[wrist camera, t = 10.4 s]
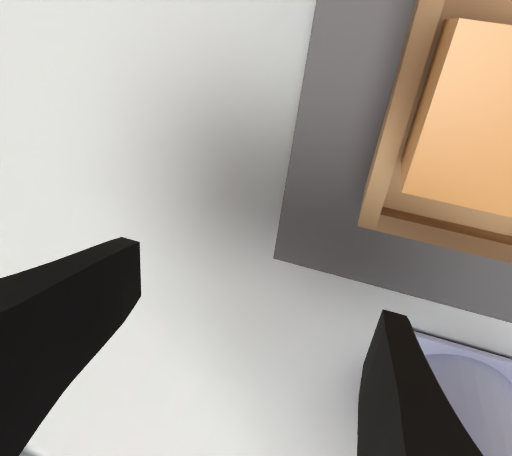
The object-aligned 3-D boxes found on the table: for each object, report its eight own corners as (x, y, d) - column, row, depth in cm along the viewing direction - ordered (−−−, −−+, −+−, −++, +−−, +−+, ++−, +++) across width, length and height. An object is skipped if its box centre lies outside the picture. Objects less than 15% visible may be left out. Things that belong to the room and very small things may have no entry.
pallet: (504, 218, 16) (531, 268, 12) (364, 187, 17) (357, 226, 14) (638, -65, 11) (732, -97, 8) (437, -81, 12) (452, -117, 9)
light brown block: (518, 183, 12) (551, 226, 10) (400, 158, 13) (401, 192, 10) (587, 39, 10) (651, 44, 8) (444, 18, 11) (459, 17, 8)
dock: (524, 291, 20) (544, 331, 17) (287, 231, 22) (273, 258, 20) (815, -232, 11) (941, -308, 8) (372, -236, 13) (366, -296, 11)
